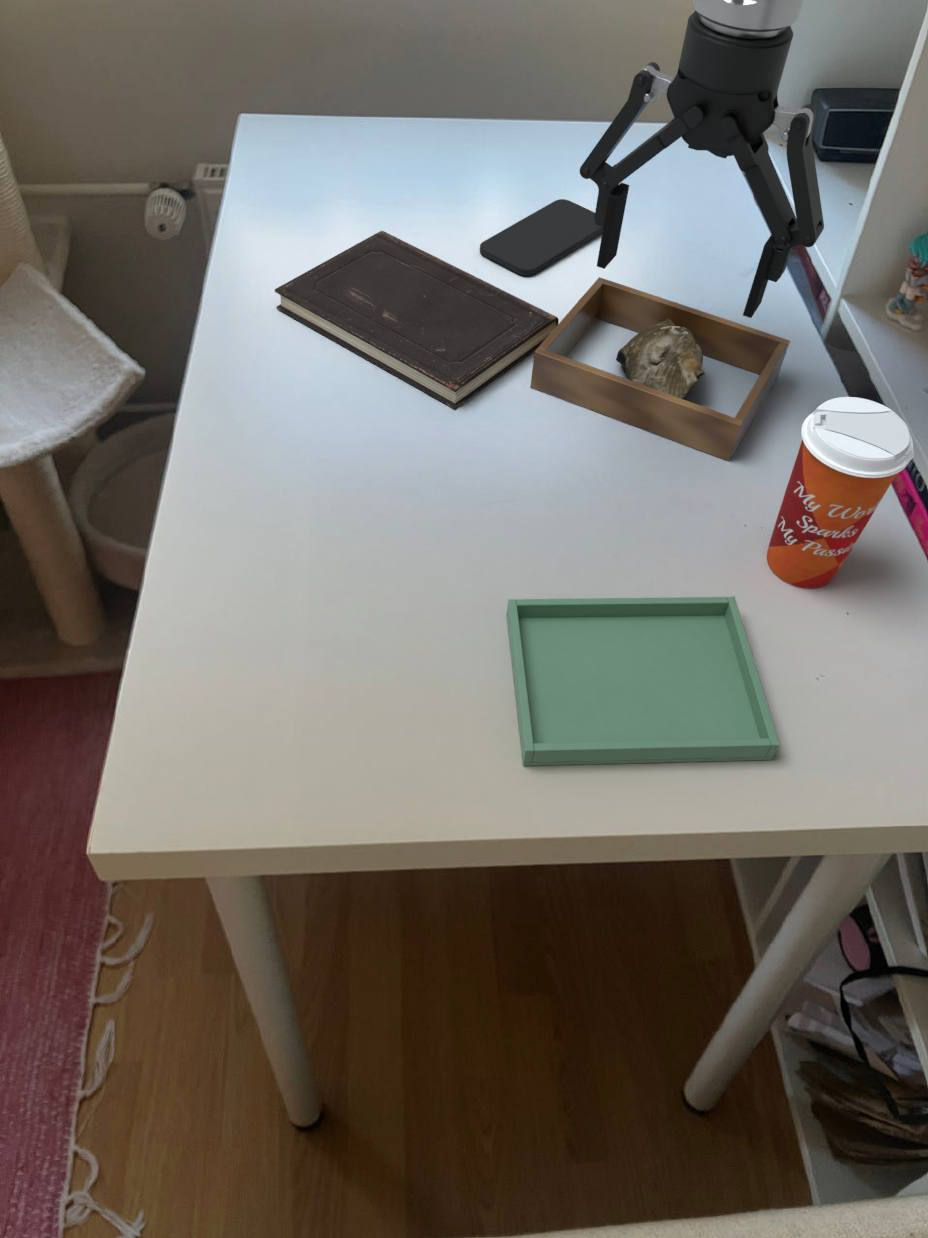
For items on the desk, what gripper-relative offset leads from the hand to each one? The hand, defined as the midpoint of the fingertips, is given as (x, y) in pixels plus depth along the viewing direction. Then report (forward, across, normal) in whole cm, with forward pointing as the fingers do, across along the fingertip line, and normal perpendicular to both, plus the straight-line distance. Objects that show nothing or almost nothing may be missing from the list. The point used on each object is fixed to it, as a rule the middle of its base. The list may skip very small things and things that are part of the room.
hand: (677, 284), depth 88 cm
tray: (+10, +12, -34) cm, 38 cm away
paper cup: (+10, +19, -16) cm, 27 cm away
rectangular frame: (+10, 0, 0) cm, 10 cm away
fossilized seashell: (+10, 0, 0) cm, 10 cm away
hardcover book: (+10, -24, -4) cm, 26 cm away
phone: (+10, -20, +17) cm, 28 cm away
